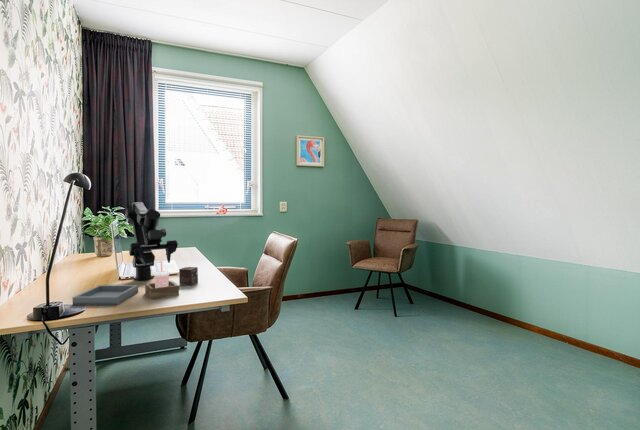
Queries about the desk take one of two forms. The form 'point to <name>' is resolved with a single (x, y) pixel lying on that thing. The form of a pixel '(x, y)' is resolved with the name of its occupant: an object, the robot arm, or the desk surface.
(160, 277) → the beverage cup
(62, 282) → the desk surface
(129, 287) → the charcoal tray
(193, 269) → the box
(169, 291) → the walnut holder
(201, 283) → the desk surface
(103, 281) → the desk surface
